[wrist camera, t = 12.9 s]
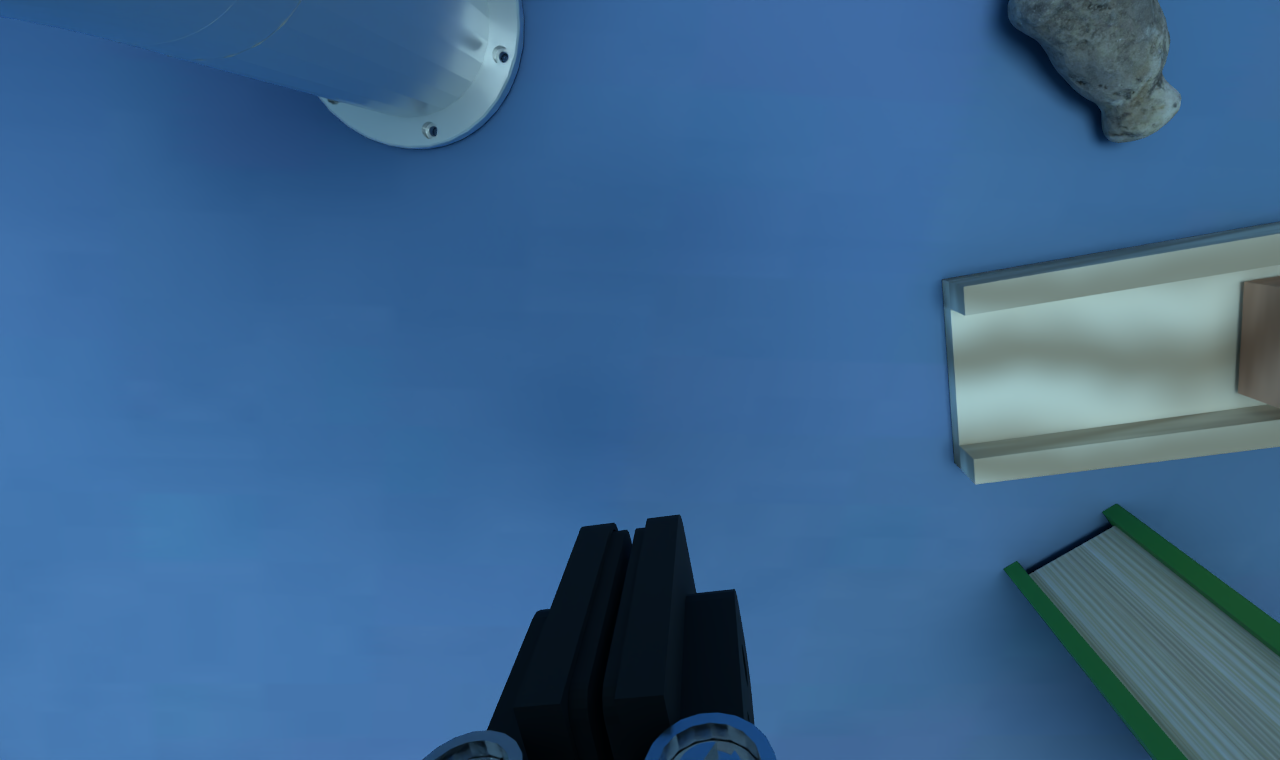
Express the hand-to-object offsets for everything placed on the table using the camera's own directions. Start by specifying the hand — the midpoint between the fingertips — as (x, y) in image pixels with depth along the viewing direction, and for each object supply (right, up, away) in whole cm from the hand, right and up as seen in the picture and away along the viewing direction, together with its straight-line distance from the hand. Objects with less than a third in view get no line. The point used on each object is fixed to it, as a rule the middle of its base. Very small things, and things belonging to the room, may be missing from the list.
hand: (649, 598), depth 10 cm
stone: (+22, +21, +21) cm, 36 cm away
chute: (+27, +6, +24) cm, 37 cm away
